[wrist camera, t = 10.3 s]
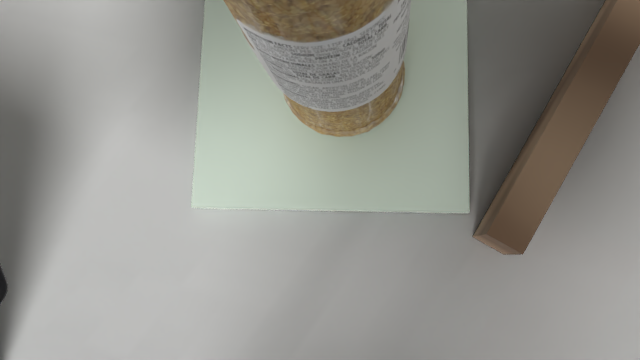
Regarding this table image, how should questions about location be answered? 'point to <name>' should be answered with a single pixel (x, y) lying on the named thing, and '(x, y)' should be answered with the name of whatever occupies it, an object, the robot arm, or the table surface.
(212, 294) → the table surface
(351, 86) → the sprinkles bottle
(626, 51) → the wooden holder
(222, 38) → the pad
